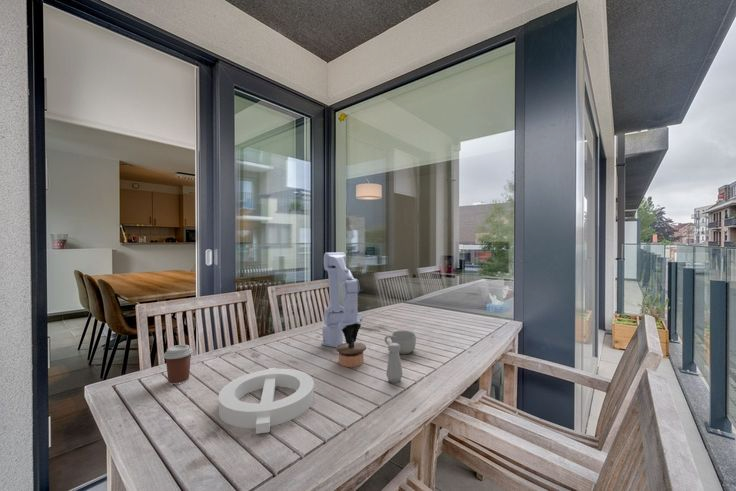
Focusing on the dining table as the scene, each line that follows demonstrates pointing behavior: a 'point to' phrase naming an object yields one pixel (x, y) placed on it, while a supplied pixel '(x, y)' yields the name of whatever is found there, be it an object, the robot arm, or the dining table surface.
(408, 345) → the teacup
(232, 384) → the ring with crossbar
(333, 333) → the robot arm
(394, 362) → the salt shaker
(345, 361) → the bowl
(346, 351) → the lid
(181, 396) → the dining table surface
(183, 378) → the coffee cup
